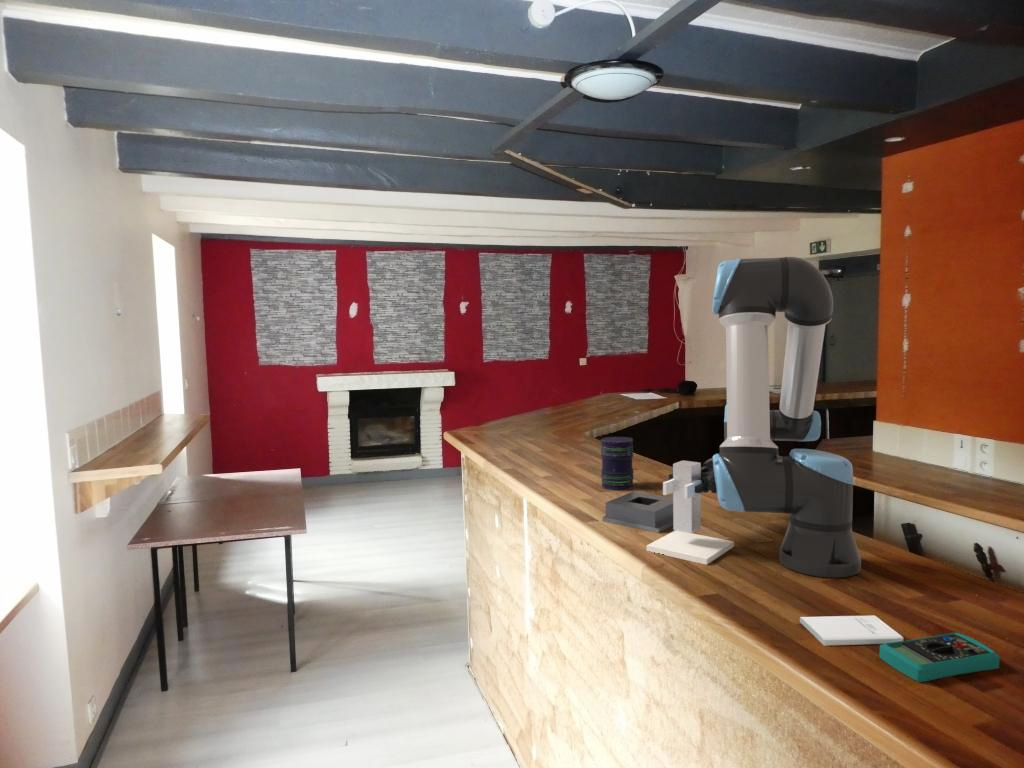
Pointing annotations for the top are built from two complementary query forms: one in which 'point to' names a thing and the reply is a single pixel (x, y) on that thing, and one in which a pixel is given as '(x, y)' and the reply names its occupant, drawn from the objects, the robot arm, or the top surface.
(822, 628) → the external hard drive
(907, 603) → the top surface
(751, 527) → the top surface
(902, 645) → the digital multimeter
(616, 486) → the storage jar
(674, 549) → the cream pad
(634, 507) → the socket block
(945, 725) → the top surface
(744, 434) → the robot arm
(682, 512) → the aluminium plug
